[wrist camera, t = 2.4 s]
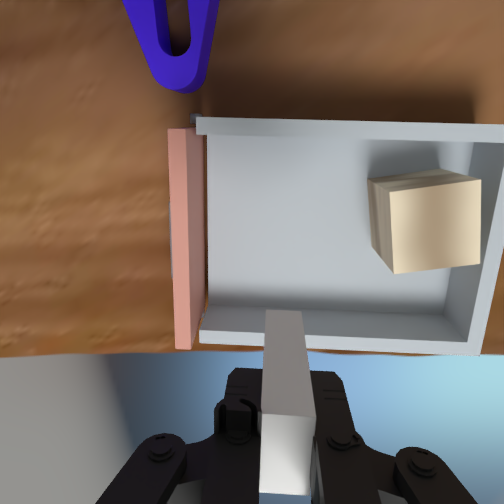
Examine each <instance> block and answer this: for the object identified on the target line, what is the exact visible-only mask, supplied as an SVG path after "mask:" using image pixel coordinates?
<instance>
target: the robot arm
mask: <svg viewBox="0 0 504 504" xmlns="http://www.w3.org/2000/svg"><path fill="white" fill-rule="evenodd" d="M310 487H311V497H312V498H311V504H478V503H477V502H476V501H475V500H474V498H473V497H472V496H471V495H470V493H469V492H468V491H467V490H466V489H465V487H464V486H463V485H462V483H461V482H460V481H459V480H458V479H457V477H456V476H455V475H454V474H453V472H452V471H451V470H450V469H449V467H448V466H447V465H446V463H445V462H444V461H443V460H442V459H440V458H439V457H438V456H437V455H435V454H434V453H432V452H430V451H428V450H426V449H422V448H418V447H406V448H403V449H400V451H399V452H398V453H397V454H396V457H394V456H390V455H387V454H384V453H381V452H378V451H376V450H373V449H372V448H370V447H369V446H367V445H366V444H365V442H364V441H363V439H362V437H361V436H360V435H359V434H358V433H357V432H356V431H355V428H354V423H353V420H352V416H351V412H350V408H349V404H348V401H347V397H346V393H345V389H344V385H343V382H342V380H341V379H340V378H339V377H338V375H337V374H336V373H335V372H329V371H310V370H309V362H308V356H307V348H306V341H305V334H304V327H303V320H302V313H301V311H289V310H267V309H266V317H265V337H264V357H263V369H253V368H235V369H234V370H233V371H232V372H231V373H230V374H229V375H228V380H227V385H226V390H225V396H224V399H222V400H221V401H220V402H219V403H217V405H216V407H215V409H214V434H213V435H211V436H210V437H209V438H207V439H205V440H203V441H200V442H196V443H191V444H186V445H185V442H184V441H183V440H182V439H181V438H180V437H178V436H176V435H174V434H167V433H162V434H158V435H154V436H152V437H149V438H147V439H146V440H145V441H143V443H141V444H140V445H139V446H138V448H137V449H136V450H135V452H134V453H133V454H132V456H131V457H130V458H129V460H128V461H127V462H126V464H125V465H124V466H123V468H122V469H121V470H120V472H119V473H118V474H117V475H116V477H115V478H114V480H113V481H112V482H111V483H110V485H109V486H108V487H107V489H106V490H105V491H104V493H103V494H102V496H101V497H100V498H99V500H98V501H97V502H96V503H95V504H259V492H264V493H265V492H266V493H280V494H295V495H310Z"/></svg>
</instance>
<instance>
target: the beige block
mask: <svg viewBox="0 0 504 504" xmlns="http://www.w3.org/2000/svg"><path fill="white" fill-rule="evenodd" d="M367 187H368V202H369V217H370V232H371V246H372V248H373V249H374V250H375V251H376V253H377V254H378V255H379V256H380V258H381V259H382V260H383V261H384V263H385V264H386V265H387V266H388V268H389V269H390V270H391V271H392V273H393V274H400V273H409V272H417V271H425V270H433V269H442V268H450V267H458V266H466V265H475V264H480V235H481V179H478V178H474V177H470V176H467V175H463V174H459V173H455V172H452V171H448V170H444V169H433V170H426V171H419V172H412V173H405V174H398V175H391V176H384V177H376V178H369V179H367Z"/></svg>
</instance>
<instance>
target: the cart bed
mask: <svg viewBox="0 0 504 504" xmlns="http://www.w3.org/2000/svg"><path fill="white" fill-rule="evenodd" d="M190 124H196V135H207V189H208V307H207V310H206V313H205V316H204V311H203V314H202V317H204V319H203V321H202V324H201V327H200V330H199V335H200V343H211V344H232V345H253V346H264V337H265V317H266V309H267V310H289V311H301V313H302V320H303V327H304V334H305V341H306V348H317V349H339V350H360V351H381V352H402V353H424V354H445V355H466V356H467V355H468V356H480V352H481V347H482V343H483V338H484V334H485V329H486V324H487V320H488V315H489V311H490V306H491V302H492V297H493V293H494V288H495V284H496V279H497V274H498V270H499V265H500V261H501V256H502V252H503V247H504V125H498V124H458V123H418V122H379V121H339V120H299V119H260V118H220V117H202V114H190ZM433 169H444V170H448V171H452V172H455V173H459V174H463V175H467V176H470V177H474V178H478V179H481V235H480V264H475V265H466V266H458V267H450V268H442V269H433V270H425V271H417V272H409V273H400V274H393V273H392V271H391V270H390V269H389V268H388V266H387V265H386V264H385V263H384V261H383V260H382V259H381V258H380V256H379V255H378V254H377V253H376V251H375V250H374V249H373V248H372V246H371V232H370V217H369V202H368V187H367V179H369V178H376V177H384V176H391V175H398V174H405V173H412V172H419V171H426V170H433ZM202 317H201V318H202Z"/></svg>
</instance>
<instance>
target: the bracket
mask: <svg viewBox="0 0 504 504" xmlns="http://www.w3.org/2000/svg"><path fill="white" fill-rule="evenodd" d="M122 1H123V4H124V6H125V9H126V11H127V14H128V16H129V18H130V21H131V23H132V26H133V28H134V31H135V33H136V36H137V38H138V41H139V43H140V45H141V48H142V50H143V53H144V55H145V58H146V60H147V63H148V65H149V68H150V70H151V72H152V75H153V77H154V78H155V80H156V81H157V82H158V83H159V84H160V85H162V86H163V87H165V88H168V89H171V90H174V91H177V92H180V93H192V92H194V91H196V90H197V89H199V88H200V87H201V85H202V84H203V82H204V80H205V77H206V72H207V66H208V61H209V56H210V50H211V45H212V39H213V34H214V28H215V23H216V17H217V12H218V7H219V1H220V0H188V8H189V19H190V29H191V44H190V47H189V49H188V50H187V52H186V53H184V54H183V55H181V56H177V57H174V56H173V54H172V52H171V44H170V35H169V26H168V17H167V8H166V0H122Z"/></svg>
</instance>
